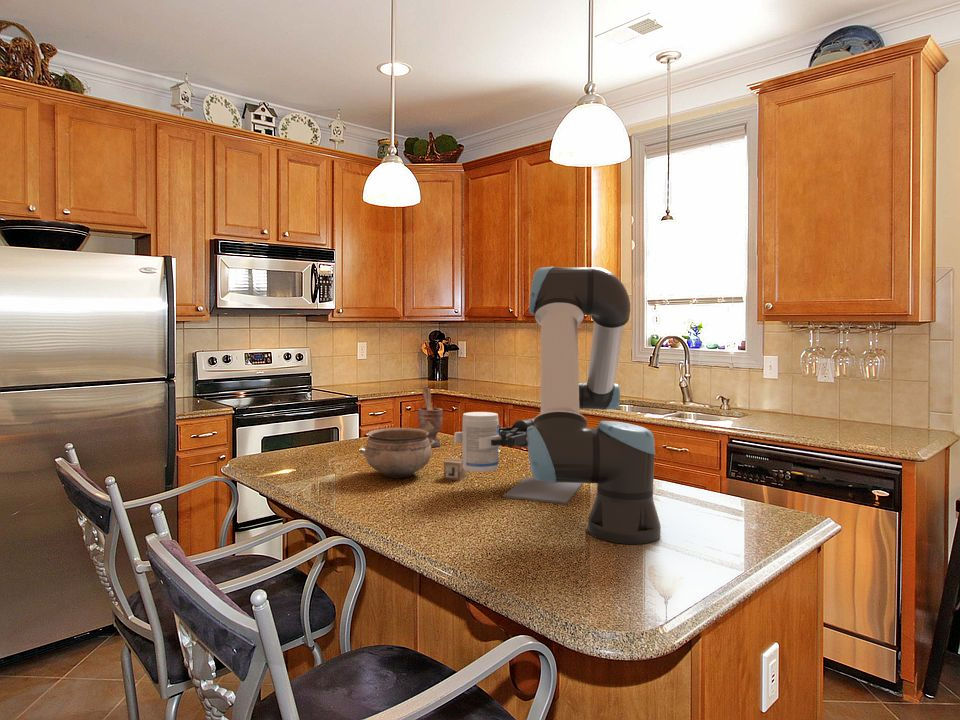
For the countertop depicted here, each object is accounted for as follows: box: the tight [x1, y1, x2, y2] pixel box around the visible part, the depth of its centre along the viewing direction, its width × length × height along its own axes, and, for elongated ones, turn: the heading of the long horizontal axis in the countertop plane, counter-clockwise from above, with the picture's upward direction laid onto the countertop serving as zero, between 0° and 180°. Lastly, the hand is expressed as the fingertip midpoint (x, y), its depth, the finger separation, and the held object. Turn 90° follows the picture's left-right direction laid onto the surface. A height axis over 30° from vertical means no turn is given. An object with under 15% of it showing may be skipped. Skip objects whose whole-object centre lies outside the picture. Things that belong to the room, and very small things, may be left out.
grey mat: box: [503, 476, 583, 505], centre depth 171 cm, size 20×16×1 cm
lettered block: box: [443, 457, 468, 481], centre depth 184 cm, size 6×5×5 cm
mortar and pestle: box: [417, 387, 443, 448], centre depth 230 cm, size 12×9×20 cm
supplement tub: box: [461, 411, 500, 473], centre depth 170 cm, size 10×10×15 cm
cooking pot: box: [358, 427, 435, 479], centre depth 185 cm, size 25×19×12 cm
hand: (467, 440), depth 167 cm, fingers closed on supplement tub, 9 cm apart
